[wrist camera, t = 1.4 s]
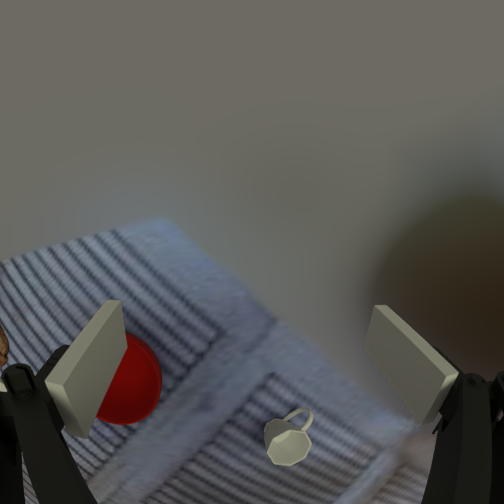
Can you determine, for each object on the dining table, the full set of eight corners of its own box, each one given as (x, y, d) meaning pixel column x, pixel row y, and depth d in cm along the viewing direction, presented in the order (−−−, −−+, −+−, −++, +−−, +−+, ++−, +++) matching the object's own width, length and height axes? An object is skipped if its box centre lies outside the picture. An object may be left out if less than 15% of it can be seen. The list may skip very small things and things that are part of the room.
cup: (247, 432, 42) (256, 454, 34) (286, 391, 44) (302, 406, 36) (276, 451, 42) (290, 473, 34) (314, 411, 44) (333, 427, 37)
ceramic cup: (65, 332, 39) (36, 338, 29) (158, 320, 43) (147, 325, 33) (84, 405, 37) (61, 426, 28) (176, 397, 41) (171, 420, 31)
